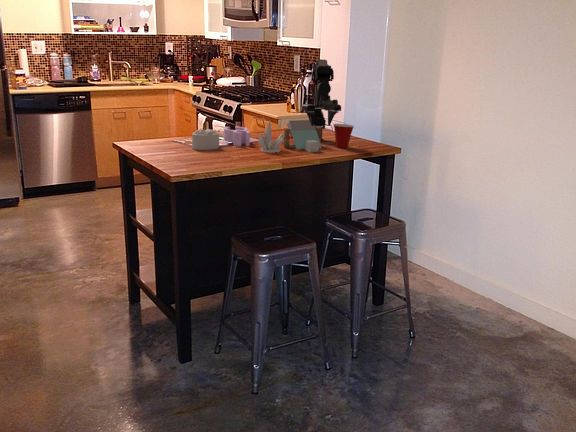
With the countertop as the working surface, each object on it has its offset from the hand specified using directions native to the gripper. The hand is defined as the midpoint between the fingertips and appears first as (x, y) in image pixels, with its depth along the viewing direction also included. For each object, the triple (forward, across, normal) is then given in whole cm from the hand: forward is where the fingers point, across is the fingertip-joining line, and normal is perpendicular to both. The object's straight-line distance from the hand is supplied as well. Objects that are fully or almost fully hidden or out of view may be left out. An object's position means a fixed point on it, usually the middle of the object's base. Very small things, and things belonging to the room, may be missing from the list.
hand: (320, 125), depth 268 cm
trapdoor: (+8, -2, +14) cm, 17 cm away
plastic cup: (+13, +18, +8) cm, 24 cm away
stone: (+11, -2, +6) cm, 13 cm away
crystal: (+13, -21, +10) cm, 27 cm away
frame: (+13, -2, +14) cm, 19 cm away
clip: (+13, -30, +33) cm, 46 cm away
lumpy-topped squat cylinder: (+13, -50, +24) cm, 57 cm away
